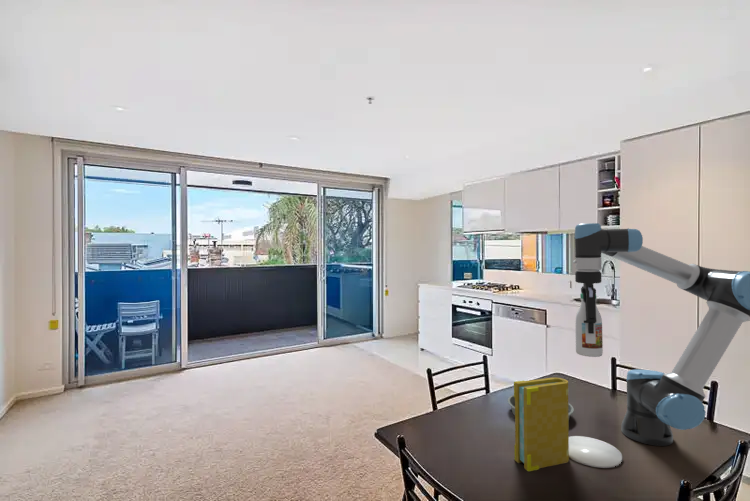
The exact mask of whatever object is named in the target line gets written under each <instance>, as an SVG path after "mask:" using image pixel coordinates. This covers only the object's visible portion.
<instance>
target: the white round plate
mask: <svg viewBox="0 0 750 501" xmlns="http://www.w3.org/2000/svg"><path fill="white" fill-rule="evenodd" d="M569 460H572V461H574V462H577V463H579V464H581V465H586V466H589V467H592V468H600V469H601V468H602V469H610V468H616V467H619V466H620V465H622V463H623V454H622V452H621V451H620V450H619V449H618V448H617V447H615V446H614V445H612V444H611V443H609V442H605V441H603V440H600V439H597V438H593V437H589V436H583V435H572V436H571V435H570V436H569ZM621 462H622V463H621ZM619 464H620V465H619ZM615 466H616V467H615Z"/></svg>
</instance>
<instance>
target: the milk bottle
mask: <svg viewBox="0 0 750 501" xmlns="http://www.w3.org/2000/svg"><path fill="white" fill-rule="evenodd" d="M595 297H596V298H597V293H596V294H595ZM579 298H580V301H581V302H580V306H579V308H578V311H577V313H576V315H575V353H576V354H577V355H579V356H582V357H583V356H584V357H589V358H600V357H603V354H604V352H603V351H604V350H603V349H604V348H603V346H604V344H603V319H602V315H601V313H600V311H599V309H598V307H597V305H596V320H597V321H596V322H595V332H596V344H590V343H586V326H585V323H584V321H586V308H585V302H584V301H583V294H582V293H581V292H580V297H579ZM585 299H586V297H585Z"/></svg>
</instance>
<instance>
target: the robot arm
mask: <svg viewBox="0 0 750 501" xmlns="http://www.w3.org/2000/svg"><path fill="white" fill-rule="evenodd" d="M573 238H574V250H575V251H574V256H575V259H574V260H573V262H572V263H573V264H575V267H574V268H575V270H576V271H575V272H574V274H575V276H574V279H575V282H576V284H577V283H578V284H583V285H582V286H581V287H580V294H581V293H582V294H583V301H584V302H585V308H586V321H584V323H585V326H586V343H590V344H596V332H595V322H596V321H597V320H596V306H597V302H596V301H597V296H596V297H595V294H596V295H597V290H596V288H595V286H594V284H601V283H602V272H601V270H602V254H603V255H606V256H609V257H611V258H614V259H616V260H619V261H621V262H624V263H625V264H628V265H631V266H633V267H635V268H637V269H640V270H643V271H645V272H647V273H650V274H652V275H654V276H656V277H659V278H662V279H664V280H667V281H669V282H671V283H674V284H676V286H677V287H678V289H680V290H683V291H686V292H687V293H689V294H691V295H694V296H696V297H697V298H700V299H702V300H705V301H706V302H705V303H706V305H707V307H708V310H707V312H706V313H705V316H704V317H703V319H702V321H701V322H700V323H699V326H698V328H697V329H696V331H695V332H694V334H693V336H692V337H691V338H690V341H689V342H688V344H687V345H686V347H685V349H684V350H683V352H682V353H681V355H680V357H679V359H678V361H677V362H676V364H675V365H674V367H673V369H672V370H671V371H670V372H667V373H665V372H662V371H658V370H651V369H641V368H640V369H638V368H637V369H631V370H628V371H627V373H626V379H625V380H626V411H625V414H624V417H623V419H622V422H621V425H620V426H621V432H622V434H623V435H624V436H626V437H627V438H629V439H631V440H633V441H636V442H638V443H642V444H646V445H648V446H656V447H657V446H659V447H666V446H670V445H672V444H673V443H674V434H673V431H672V429H671V427H672V428H673V429H676V430H680V431H686V430H691V429H695V428H696V427H699V426H700V425H701V424H702V423H703V421H704V419H705V417H706V411H705V409H706V408H705V406H704V403H703V402H704V400H705V398H706V394H705V392H704V388H705V386H706V384H707V383H708V381H709V379H710V377H711V376H712V374H713V372H714V371H715V369H716V368H717V366H718V364H719V362H720V361H721V359H722V358H723V356H724V354H725V353H726V351H727V349H728V347H729V346H730V344H731V342H732V341H733V339H734V337H735V336H736V335H737V332H738V331H739V329H740V328H741V326H742V324H743V323H747V322H750V271H748V270H741V271H740V270H730V269H729V270H728V269H715V268H709V267H705V266H702V265H698V264H695V263H688V264H687V263H685V262H683V261H680V260H678V259H675V258H673V257H670V256H668V255H667V254H666V255H665V254H663V253H661V252H658V251H657V250H653V249H650V248H648V247H646V246H643V240H644V238H643V235H642V232H641V231H640V230H639V229H636V228H629V227H628V228H614V229H613V228H612V229H611V228H610V229H605V228H602V224H600V223H598V222H597V223H595V222H593V223H578V224H576V226H575V227H574V237H573ZM585 297H586V299H585Z"/></svg>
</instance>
